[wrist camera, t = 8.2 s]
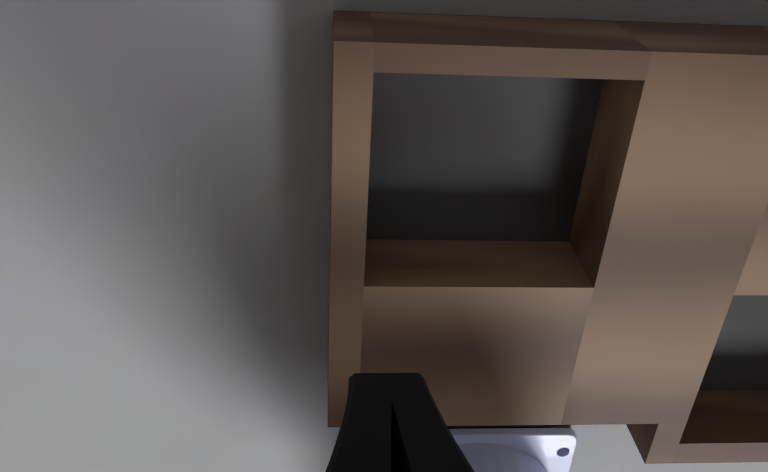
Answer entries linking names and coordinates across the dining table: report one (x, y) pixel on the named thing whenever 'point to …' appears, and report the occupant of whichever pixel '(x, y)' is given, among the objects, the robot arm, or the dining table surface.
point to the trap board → (555, 223)
